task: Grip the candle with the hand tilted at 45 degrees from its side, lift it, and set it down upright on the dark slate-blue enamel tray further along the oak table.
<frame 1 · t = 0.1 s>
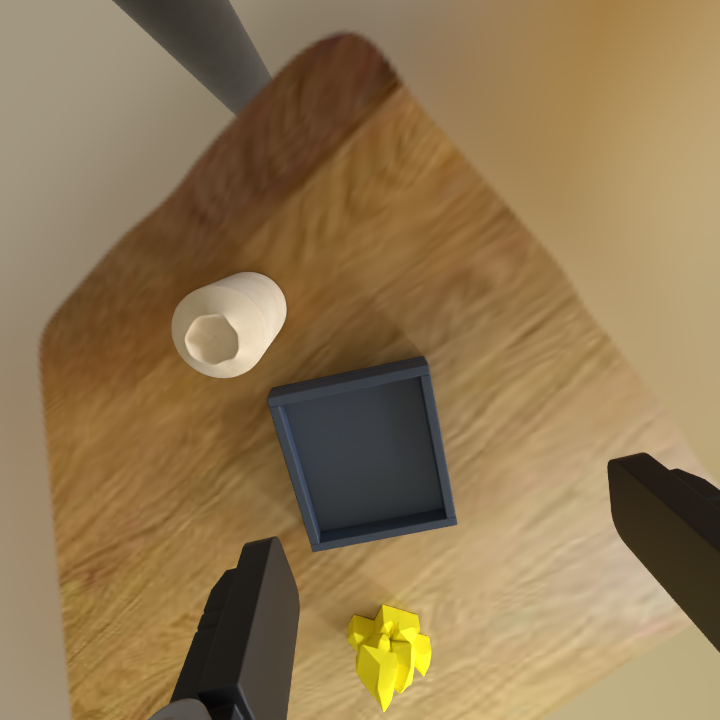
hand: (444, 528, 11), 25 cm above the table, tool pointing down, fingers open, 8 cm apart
crumpled paper: (388, 629, 44), on the table
candle: (252, 306, 34), on the table
tray: (366, 450, 37), on the table
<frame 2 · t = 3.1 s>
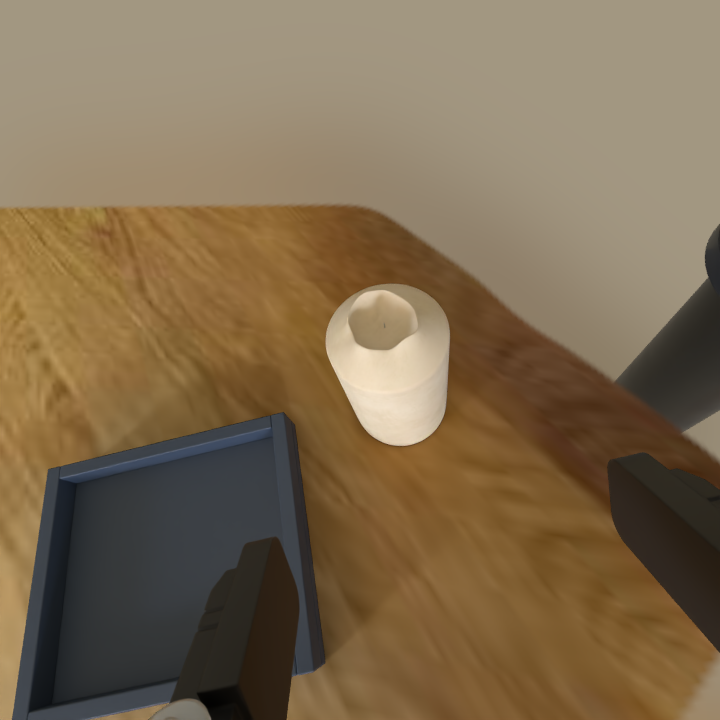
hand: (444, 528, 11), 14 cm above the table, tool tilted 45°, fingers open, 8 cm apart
candle: (400, 404, 27), on the table
tray: (184, 557, 25), on the table
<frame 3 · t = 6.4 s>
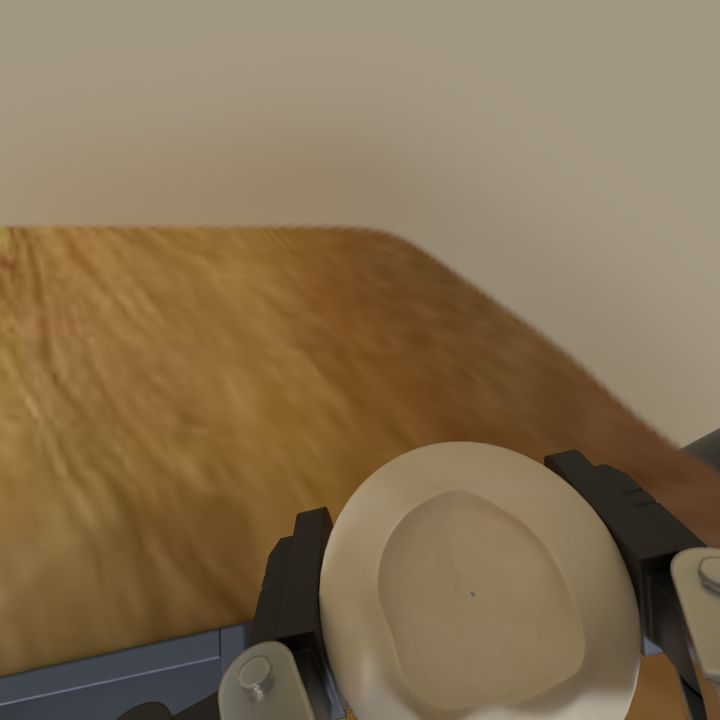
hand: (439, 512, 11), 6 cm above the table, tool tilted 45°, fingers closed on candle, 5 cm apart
candle: (452, 586, 16), on the table, touching gripper
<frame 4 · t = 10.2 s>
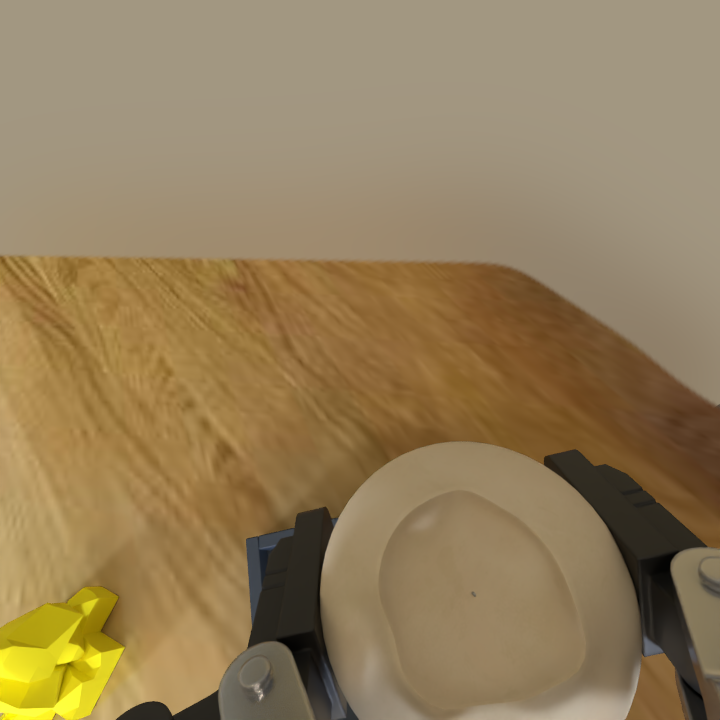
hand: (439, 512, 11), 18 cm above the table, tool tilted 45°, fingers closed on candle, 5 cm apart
crumpled paper: (76, 656, 28), on the table
candle: (453, 586, 16), point 12 cm above the table, touching gripper
tray: (386, 626, 26), on the table
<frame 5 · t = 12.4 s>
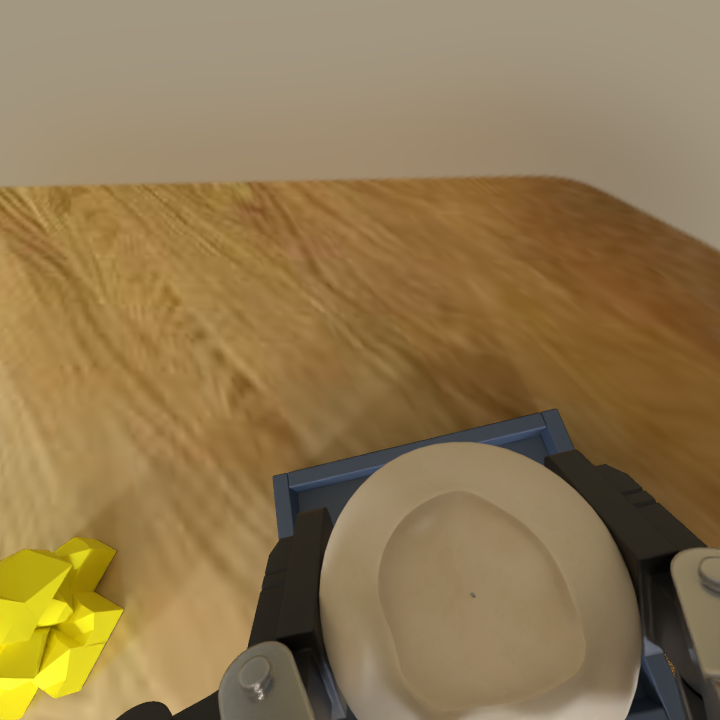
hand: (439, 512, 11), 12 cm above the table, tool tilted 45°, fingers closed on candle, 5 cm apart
crumpled paper: (64, 621, 23), on the table
candle: (452, 586, 15), point 6 cm above the table, touching gripper
tray: (447, 580, 21), on the table
when the fingers open (7 cm above the table, at t = 14.4 s): candle stays where it is, resting on tray.
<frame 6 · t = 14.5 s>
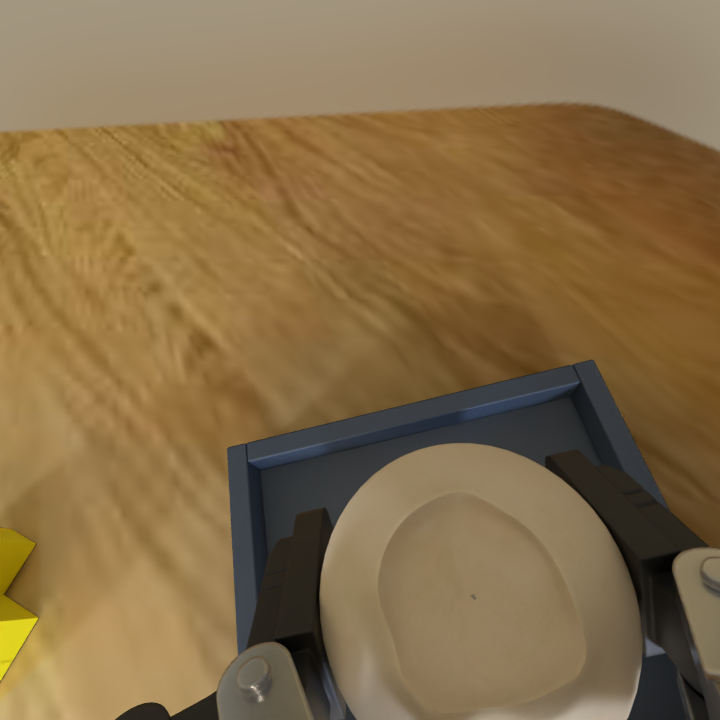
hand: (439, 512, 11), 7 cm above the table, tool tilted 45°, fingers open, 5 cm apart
candle: (453, 587, 15), point 1 cm above the table, touching tray
tray: (451, 582, 16), on the table
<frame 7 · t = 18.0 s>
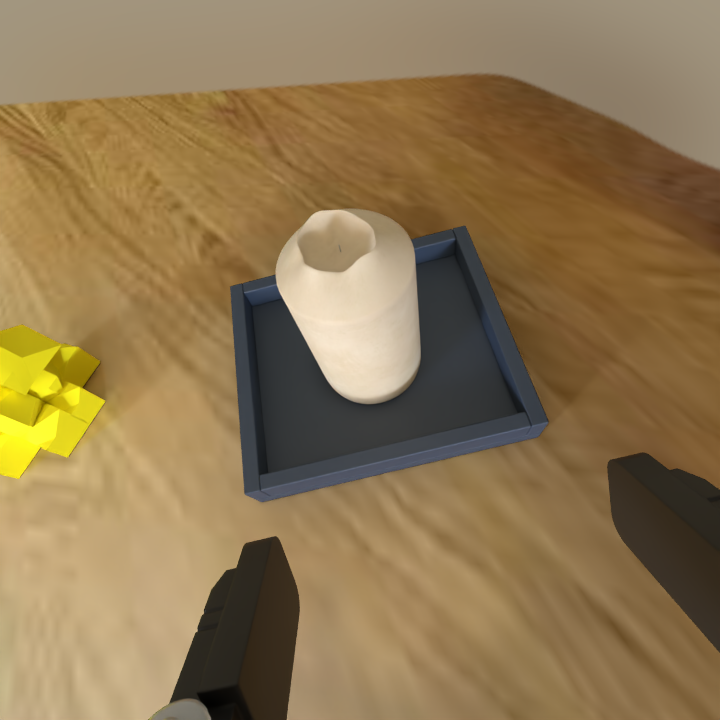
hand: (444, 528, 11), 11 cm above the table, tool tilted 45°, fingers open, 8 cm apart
crumpled paper: (55, 414, 27), on the table
candle: (372, 361, 25), point 1 cm above the table, touching tray
tray: (372, 363, 25), on the table
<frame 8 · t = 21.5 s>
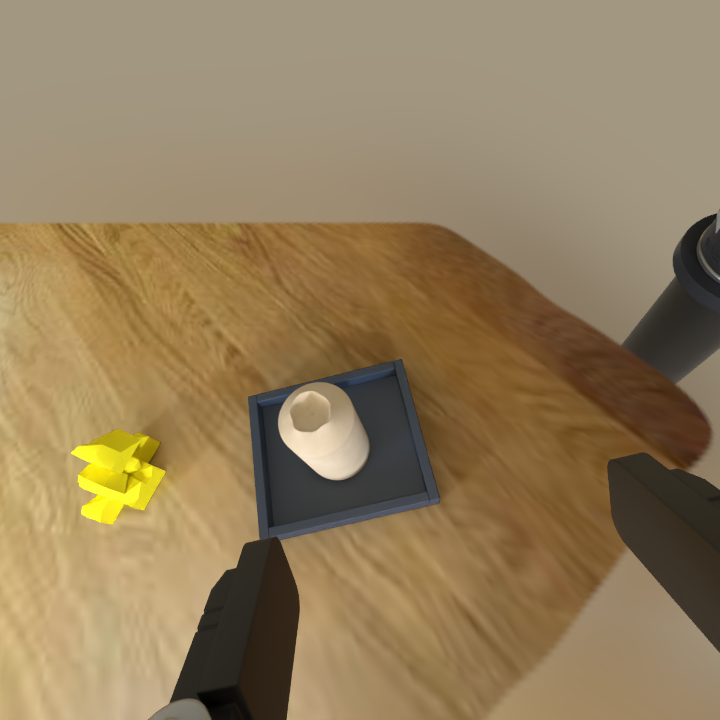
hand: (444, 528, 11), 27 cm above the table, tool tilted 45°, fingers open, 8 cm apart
crumpled paper: (132, 479, 41), on the table
candle: (339, 450, 39), point 1 cm above the table, touching tray
tray: (340, 450, 39), on the table
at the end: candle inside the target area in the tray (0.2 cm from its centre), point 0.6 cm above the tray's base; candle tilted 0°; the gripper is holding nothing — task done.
